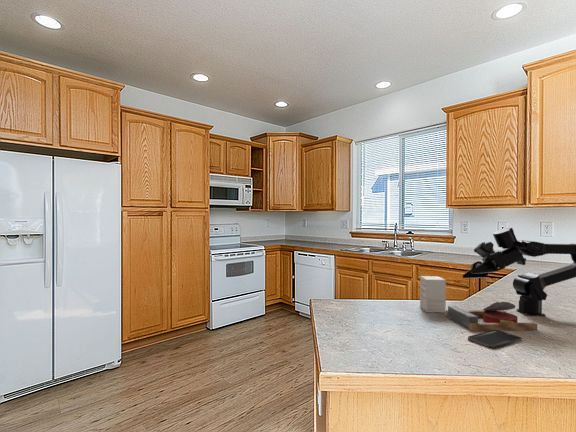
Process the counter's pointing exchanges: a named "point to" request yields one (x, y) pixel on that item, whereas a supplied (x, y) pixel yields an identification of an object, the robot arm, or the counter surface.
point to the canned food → (499, 313)
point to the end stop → (461, 316)
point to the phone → (494, 339)
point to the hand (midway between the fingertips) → (467, 274)
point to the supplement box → (433, 294)
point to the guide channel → (497, 324)
